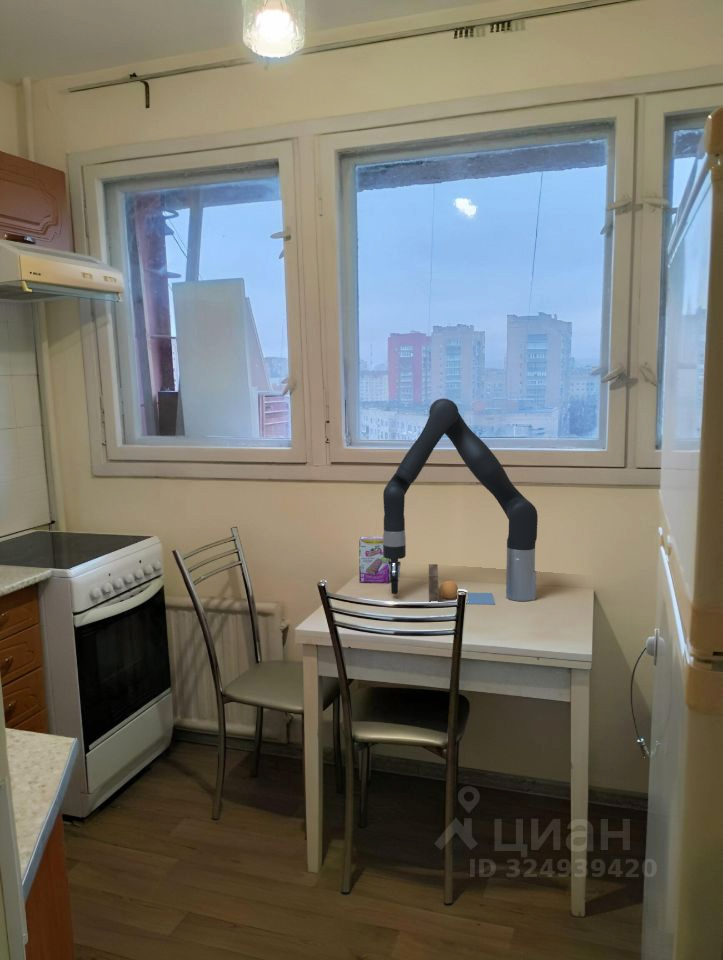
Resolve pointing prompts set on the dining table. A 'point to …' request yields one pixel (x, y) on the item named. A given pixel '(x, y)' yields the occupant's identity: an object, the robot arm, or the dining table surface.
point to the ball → (448, 589)
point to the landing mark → (480, 598)
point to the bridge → (433, 582)
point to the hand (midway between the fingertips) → (394, 593)
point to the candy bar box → (372, 561)
